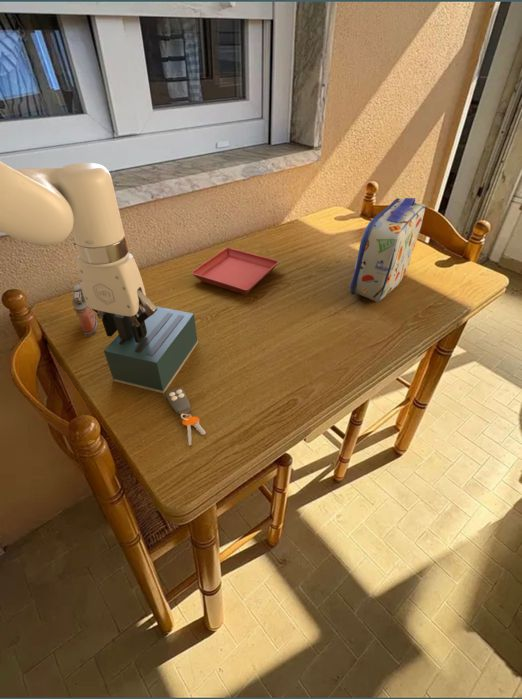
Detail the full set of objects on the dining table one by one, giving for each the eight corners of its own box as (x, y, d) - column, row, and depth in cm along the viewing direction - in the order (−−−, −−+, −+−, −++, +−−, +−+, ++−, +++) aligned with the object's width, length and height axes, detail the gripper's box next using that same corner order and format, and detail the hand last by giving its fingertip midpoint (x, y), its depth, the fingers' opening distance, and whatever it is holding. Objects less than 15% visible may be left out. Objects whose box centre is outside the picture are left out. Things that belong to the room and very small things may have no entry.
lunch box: (377, 259, 116) (394, 184, 102) (411, 268, 112) (434, 191, 98) (343, 301, 98) (358, 217, 84) (382, 313, 94) (405, 228, 80)
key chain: (164, 397, 73) (163, 391, 72) (182, 390, 74) (181, 384, 73) (189, 447, 64) (188, 441, 63) (209, 438, 66) (209, 433, 65)
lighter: (83, 317, 92) (69, 281, 85) (97, 315, 92) (86, 278, 86) (81, 337, 86) (67, 300, 79) (97, 334, 87) (84, 297, 80)
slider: (119, 338, 73) (113, 316, 69) (127, 330, 75) (121, 308, 71) (128, 340, 72) (122, 318, 69) (135, 332, 74) (129, 310, 71)
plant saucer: (191, 282, 104) (189, 271, 102) (227, 256, 116) (226, 246, 114) (247, 301, 98) (247, 290, 96) (279, 271, 110) (280, 260, 108)
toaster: (113, 381, 76) (102, 350, 70) (153, 333, 87) (146, 303, 82) (163, 393, 73) (156, 362, 68) (198, 342, 85) (194, 312, 80)
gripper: (42, 250, 61) (77, 338, 73) (138, 267, 57) (157, 356, 69) (73, 232, 66) (100, 316, 78) (161, 245, 63) (176, 332, 74)
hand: (127, 334), depth 73 cm, fingers open, 5 cm apart
